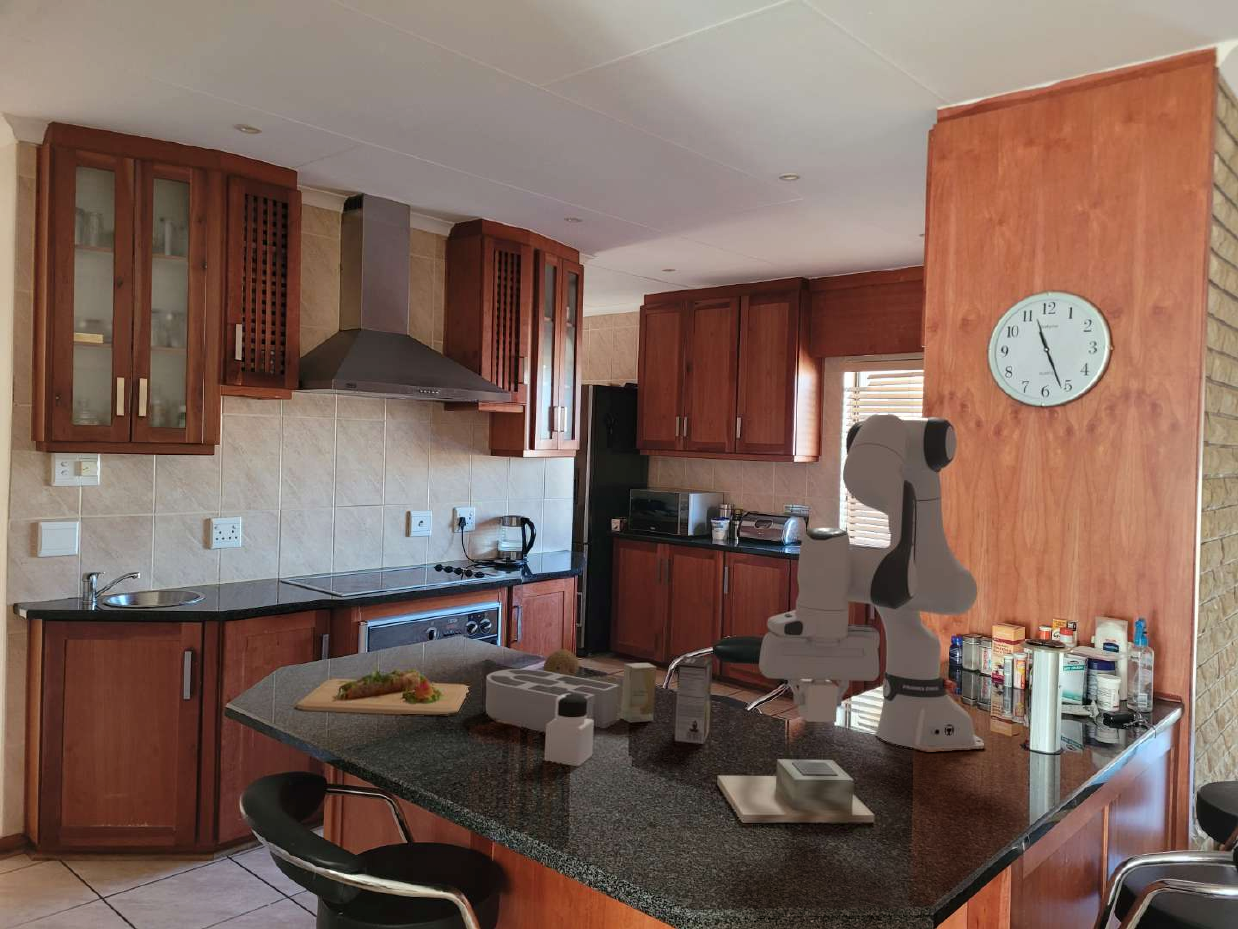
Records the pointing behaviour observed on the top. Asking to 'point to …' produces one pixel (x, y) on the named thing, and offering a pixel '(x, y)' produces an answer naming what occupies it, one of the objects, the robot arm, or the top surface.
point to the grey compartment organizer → (545, 697)
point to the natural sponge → (562, 663)
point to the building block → (818, 700)
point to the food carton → (693, 699)
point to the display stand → (796, 794)
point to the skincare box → (638, 692)
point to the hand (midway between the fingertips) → (817, 705)
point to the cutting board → (386, 695)
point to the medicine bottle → (569, 732)
